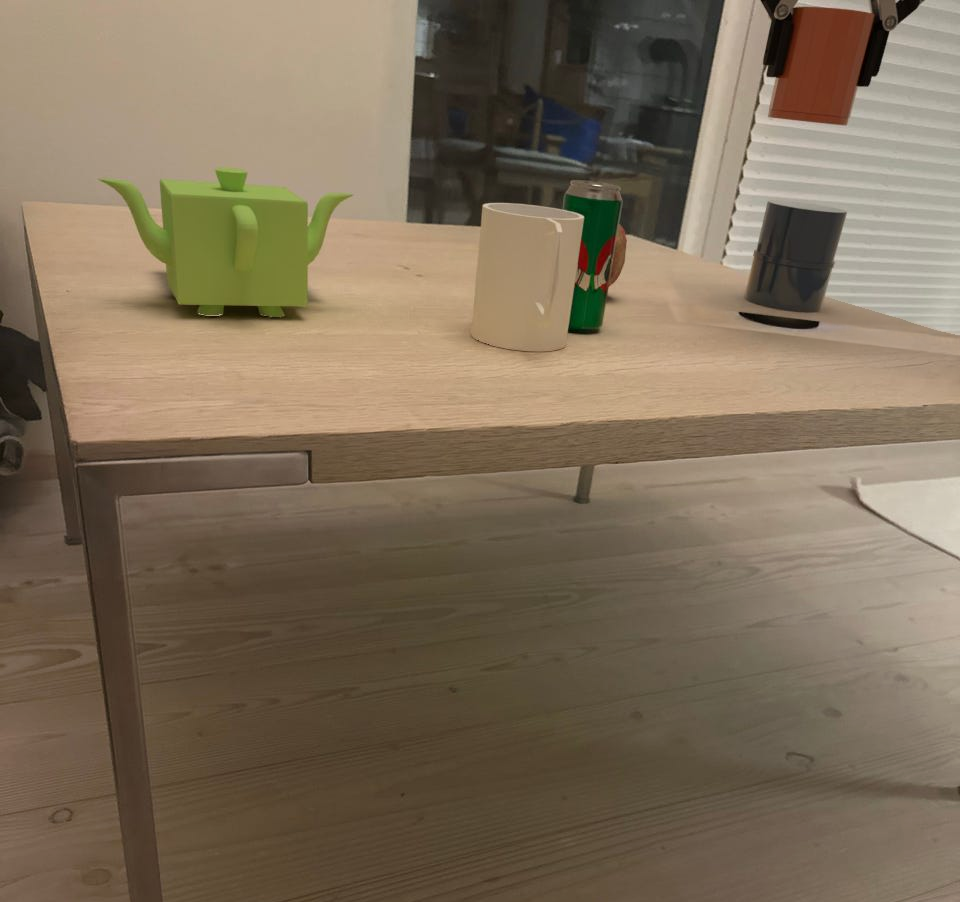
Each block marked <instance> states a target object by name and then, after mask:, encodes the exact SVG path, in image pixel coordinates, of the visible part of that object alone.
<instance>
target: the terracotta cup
mask: <svg viewBox="0 0 960 902" xmlns="http://www.w3.org/2000/svg"><path fill="white" fill-rule="evenodd" d="M875 18H876V15H875V14H872V13H871V12H868V11H862V10H856V9H847V8H839V7H838V8H837V7H824V6H794V7H793V9H792V10H791V18H790V20H791V21H792V23H793V28H792V32H791V37H790V41H789V46H788V50H787V55H786V59H785V64H784V68H783V72H782V75H781V76H779V77H775V80H774V84H773V88H772V93H771V97H770V102H769V107H768V114H767V118H770V119H779V120H790V121H796V122H797V121H798V122H807V123H815V124H825V125H826V124H827V125H835V126H845V127H846V126H848V123H849V119H850V118H851V114H852V110H853V107H854V102H855V99H856V96H857V92H858V88H859V87H858V84H859V80H860V76H861V72H862V68H863V65H864V61H865V57H866V53H867V49H868V45H869V42H870V38H871V34H872V30H873V26H874V22H875Z"/></svg>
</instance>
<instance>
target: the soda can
mask: <svg viewBox="0 0 960 902" xmlns="http://www.w3.org/2000/svg"><path fill="white" fill-rule="evenodd" d="M569 183H570V185H569V187H568V189H566V191H565V193H564V194H563V201H562V208H561V210H566V211H571V212H575V213H578V214H581V215H583V216H584V222H583V229H582V236H581V243H580V250H579V257H578V264H577V271H576V278H575V285H574V292H573V299H572V306H571V313H570V320H569V326H568V333H578V334H591V333H595V332H597V331H598V330H599V329H600V328H601V327H602V326H603V324H604V318H605V313H606V306H607V301H608V294H609V288H610V287H609V282H610V276H611V270H612V264H613V258H614V252H615V246H616V239H617V233H618V227H619V224H620V221H621V216H622V215H621V214H622V208H623V202H624V201H623V198H622V195H621V193H620V191H621V186H620V185H618V184H613V183H609V182H602V181H596V180H595V181H594V180H582V179H572V180H570V182H569Z"/></svg>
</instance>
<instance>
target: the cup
mask: <svg viewBox="0 0 960 902" xmlns="http://www.w3.org/2000/svg"><path fill="white" fill-rule="evenodd" d="M481 208H482V209H481V219H480V231H479V241H478V242H479V243H478V252H477V264H476V273H475V284H474V285H475V286H474V295H473V307H472V317H471V318H472V319H471V329H470V335H471V337H472V338H473V339H474V340H476V341H478V340H479V341H478V342H480V343H482V344H485V343H486V344H485V345H488V344H489V345H488V346H492V347H496V348H501V349H507V350H512V351H520V352H539V353H541V352H553V351H558V350H561V349H563V348H565V347H566V346H567V340H568V333H569V331H568V326H569V320H570V313H571V306H572V299H573V292H574V285H575V278H576V271H577V264H578V257H579V250H580V243H581V236H582V229H583V222H584V216H583V215H581V214H578V213H575V212H571V211H566V210H562V208H556V207H550V206H541V205H534V204H526V203H513V202H512V203H511V202H488V203H483V204H482V207H481Z"/></svg>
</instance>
